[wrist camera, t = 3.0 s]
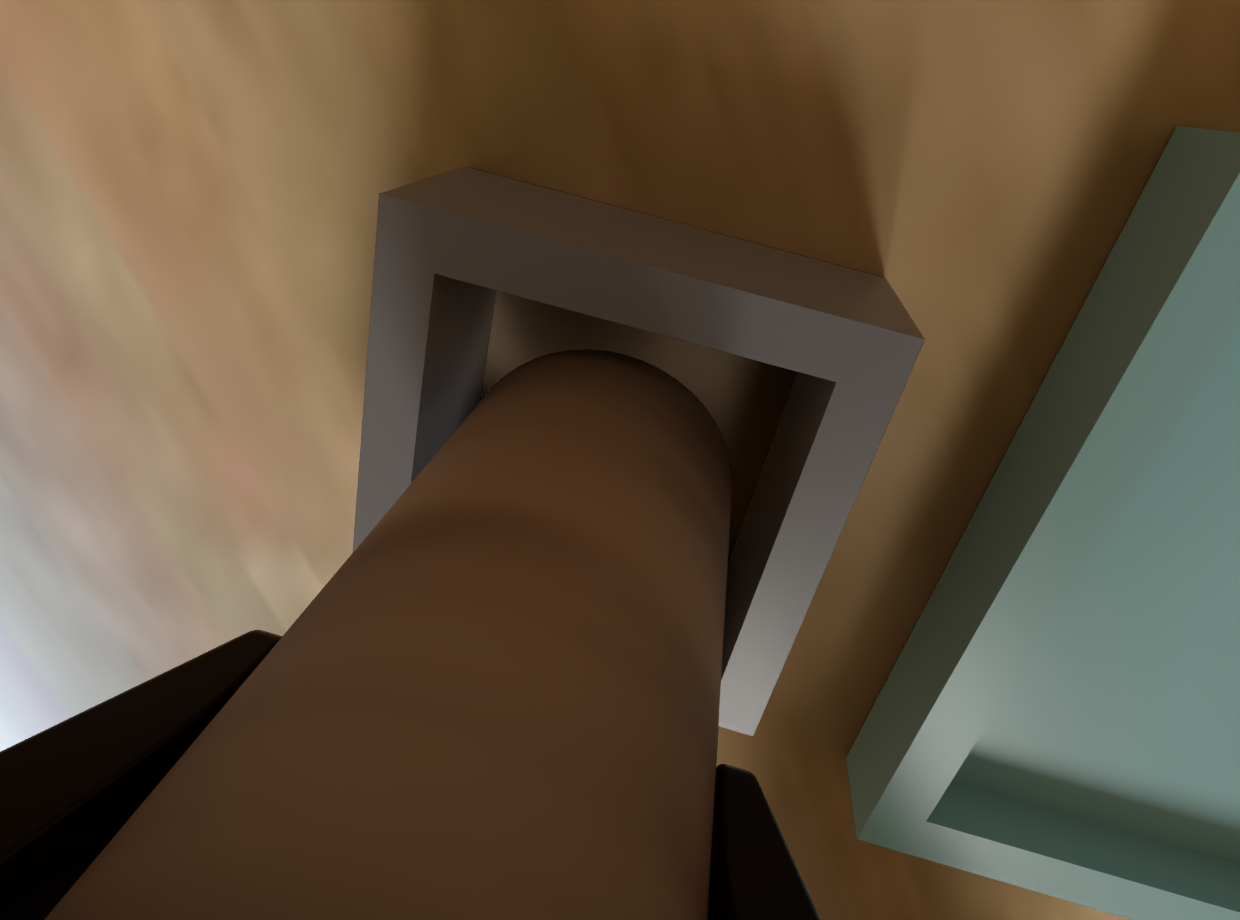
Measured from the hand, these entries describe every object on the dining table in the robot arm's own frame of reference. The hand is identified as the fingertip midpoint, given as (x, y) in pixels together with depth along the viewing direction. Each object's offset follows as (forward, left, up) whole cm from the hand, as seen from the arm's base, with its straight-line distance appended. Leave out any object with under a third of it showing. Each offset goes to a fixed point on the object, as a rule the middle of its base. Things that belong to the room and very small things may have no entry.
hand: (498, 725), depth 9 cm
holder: (0, 0, -10) cm, 10 cm away
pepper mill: (0, 0, -6) cm, 6 cm away
